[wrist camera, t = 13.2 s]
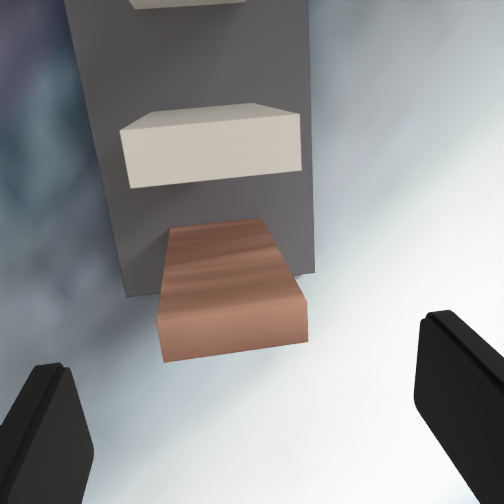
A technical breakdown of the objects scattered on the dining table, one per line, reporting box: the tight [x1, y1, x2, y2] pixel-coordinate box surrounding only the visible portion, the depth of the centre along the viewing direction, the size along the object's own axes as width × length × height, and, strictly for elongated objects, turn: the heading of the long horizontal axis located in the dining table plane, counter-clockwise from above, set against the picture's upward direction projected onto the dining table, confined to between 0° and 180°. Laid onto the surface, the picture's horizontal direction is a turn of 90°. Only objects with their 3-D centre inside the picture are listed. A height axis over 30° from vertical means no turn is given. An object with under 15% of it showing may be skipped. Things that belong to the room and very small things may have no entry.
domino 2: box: [156, 217, 308, 363], centre depth 19 cm, size 2×5×10 cm, turn 95°
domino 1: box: [120, 103, 302, 188], centre depth 17 cm, size 2×5×10 cm, turn 95°
